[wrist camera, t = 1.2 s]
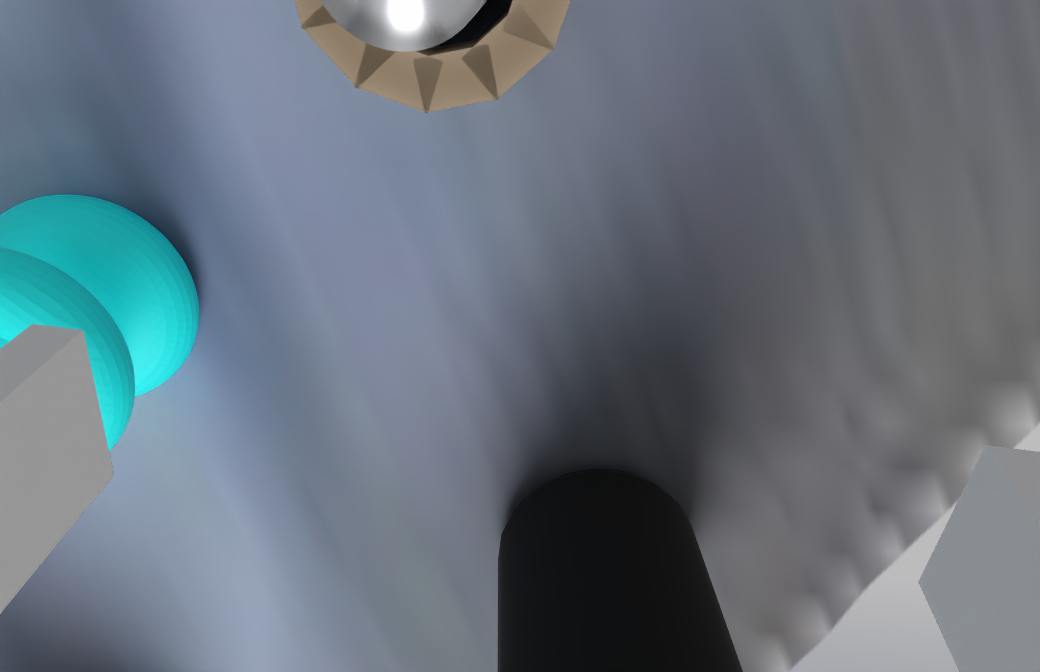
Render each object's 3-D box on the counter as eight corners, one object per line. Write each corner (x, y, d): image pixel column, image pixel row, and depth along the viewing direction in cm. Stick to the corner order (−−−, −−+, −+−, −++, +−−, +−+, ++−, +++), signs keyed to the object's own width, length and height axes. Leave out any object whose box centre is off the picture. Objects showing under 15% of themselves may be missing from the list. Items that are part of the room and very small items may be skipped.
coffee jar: (477, 592, 45) (463, 938, 29) (528, 438, 41) (547, 739, 25) (651, 628, 47) (733, 977, 30) (718, 482, 43) (854, 795, 26)
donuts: (30, 546, 32) (-222, 399, 29) (137, 418, 41) (-46, 296, 38) (166, 382, 29) (-100, 199, 26) (249, 284, 38) (59, 140, 35)
